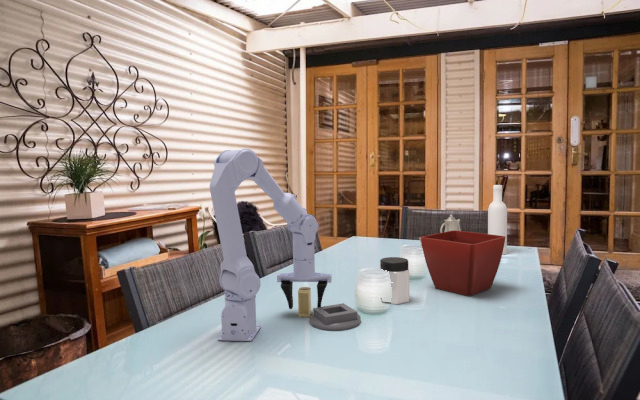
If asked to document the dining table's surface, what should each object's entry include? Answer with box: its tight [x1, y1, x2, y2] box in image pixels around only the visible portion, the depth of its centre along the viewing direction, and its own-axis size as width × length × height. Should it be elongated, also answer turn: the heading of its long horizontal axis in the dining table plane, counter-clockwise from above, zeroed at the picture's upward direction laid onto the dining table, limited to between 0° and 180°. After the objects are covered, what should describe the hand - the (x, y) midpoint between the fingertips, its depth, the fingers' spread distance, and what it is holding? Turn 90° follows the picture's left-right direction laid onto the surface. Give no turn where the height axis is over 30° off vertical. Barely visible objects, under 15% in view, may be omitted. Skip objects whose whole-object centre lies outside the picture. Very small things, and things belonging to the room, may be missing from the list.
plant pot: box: [420, 230, 505, 297], centre depth 140 cm, size 19×19×17 cm
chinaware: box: [417, 214, 462, 247], centre depth 210 cm, size 28×17×17 cm, turn 130°
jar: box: [379, 256, 410, 305], centre depth 130 cm, size 9×8×12 cm
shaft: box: [297, 286, 312, 318], centre depth 119 cm, size 4×3×7 cm
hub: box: [309, 302, 361, 332], centre depth 113 cm, size 13×13×3 cm
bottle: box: [487, 184, 508, 256], centre depth 193 cm, size 8×8×30 cm
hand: (305, 308), depth 119 cm, fingers open, 7 cm apart
